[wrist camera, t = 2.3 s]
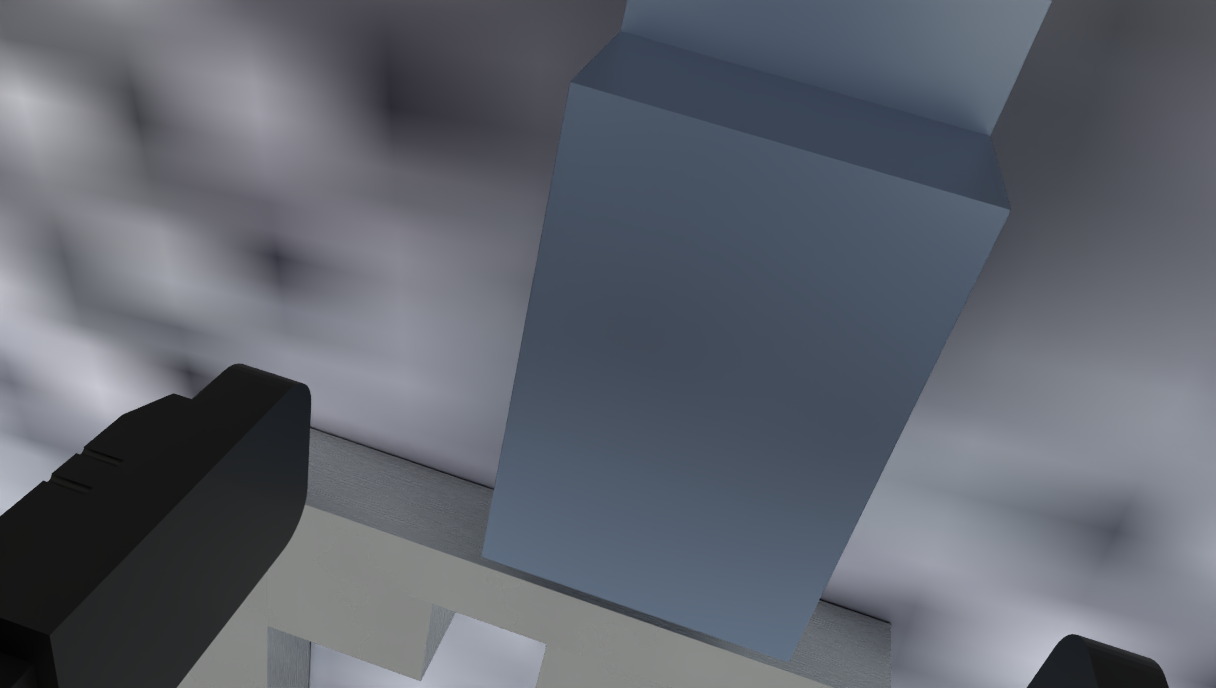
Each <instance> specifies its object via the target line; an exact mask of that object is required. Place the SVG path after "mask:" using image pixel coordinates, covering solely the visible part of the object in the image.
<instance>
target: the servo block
mask: <svg viewBox="0 0 1216 688" xmlns="http://www.w3.org/2000/svg"><path fill="white" fill-rule="evenodd" d="M1051 2H1052V0H627V3H626V8H625V13H624V17H623V22H622V27H621V31H620V32H619V33H618V34H617V35H616V36H615V37H614V38H613V39H612V40H611V41H610V42H609V43H608V44H607V45H606V46H605V47H604V48H603V49H602V50H601V51H600V52H599V53H598V54H597V55H596V56H595V57H594V58H593V59H592V60H591V61H590V62H589V63H588V64H587V65H586V66H585V67H584V68H583V69H582V70H581V71H580V72H579V74H578V75H577V76H576V77H575V78H574V79H573V80H572V81H571V82H570V85H569V90H568V96H567V101H566V106H565V112H564V117H563V122H562V128H561V133H560V139H559V144H558V149H557V155H556V160H555V165H554V171H553V176H552V181H551V187H550V192H549V198H548V203H547V208H546V214H545V219H544V224H543V230H542V235H541V240H540V246H539V251H538V257H537V262H536V267H535V273H534V278H533V283H532V289H531V294H530V299H529V305H528V310H527V316H526V321H525V326H524V332H523V337H522V342H521V348H520V353H519V358H518V364H517V369H516V375H515V380H514V385H513V391H512V396H511V401H510V407H509V412H508V417H507V423H506V428H505V434H504V439H503V444H502V450H501V455H500V460H499V466H498V471H497V476H496V482H495V487H494V493H493V498H492V503H491V509H490V514H489V519H488V525H487V530H486V535H485V541H484V546H483V552H482V557H484V558H486V559H489V560H492V561H495V562H498V563H501V564H504V565H507V566H510V567H513V568H516V569H518V570H521V571H524V572H527V573H530V574H533V575H536V576H539V577H542V578H545V579H548V580H550V581H553V582H556V583H559V584H562V585H565V586H568V587H571V588H574V589H577V590H580V591H582V592H585V593H588V594H591V595H594V596H597V597H600V598H603V599H606V600H609V601H612V602H614V603H617V604H620V605H623V606H626V607H629V608H632V609H635V610H638V611H641V612H643V613H646V614H649V615H652V616H655V617H658V618H661V619H664V620H667V621H670V622H673V623H675V624H678V625H681V626H684V627H687V628H690V629H693V630H696V631H699V632H702V633H705V634H707V635H710V636H713V637H716V638H719V639H722V640H725V641H728V642H731V643H734V644H737V645H739V646H742V647H745V648H748V649H751V650H754V651H757V652H760V653H763V654H766V655H768V656H771V657H774V658H777V659H780V660H783V661H786V662H789V660H790V658H791V656H792V654H793V652H794V650H795V648H796V646H797V644H798V642H799V640H800V638H801V636H802V634H803V632H804V630H805V628H806V626H807V624H808V622H809V620H810V618H811V616H812V614H813V612H814V610H815V608H816V606H817V604H818V601H819V599H820V597H821V595H822V593H823V591H824V589H825V587H826V585H827V583H828V581H829V579H830V577H831V575H832V573H833V571H834V569H835V567H836V565H837V563H838V561H839V559H840V557H841V555H842V553H843V551H844V549H845V547H846V545H847V543H848V540H849V538H850V536H851V534H852V532H853V530H854V528H855V526H856V524H857V522H858V520H859V518H860V516H861V514H862V512H863V510H864V508H865V506H866V504H867V502H868V500H869V498H870V496H871V494H872V492H873V490H874V488H875V486H876V484H877V482H878V479H879V477H880V475H881V473H882V471H883V469H884V467H885V465H886V463H887V461H888V459H889V457H890V455H891V453H892V451H893V449H894V447H895V445H896V443H897V441H898V439H899V437H900V435H901V433H902V431H903V429H904V427H905V425H906V423H907V421H908V418H909V416H910V414H911V412H912V410H913V408H914V406H915V404H916V402H917V400H918V398H919V396H920V394H921V392H922V390H923V388H924V386H925V384H926V382H927V380H928V378H929V376H930V374H931V372H932V370H933V368H934V366H935V364H936V362H937V360H938V357H939V355H940V353H941V351H942V349H943V347H944V345H945V343H946V341H947V339H948V337H949V335H950V333H951V331H952V329H953V327H954V325H955V323H956V321H957V319H958V317H959V315H960V313H961V311H962V309H963V307H964V305H965V303H966V301H967V299H968V296H969V294H970V292H971V290H972V288H973V286H974V284H975V282H976V280H977V278H978V276H979V274H980V272H981V270H982V268H983V266H984V264H985V262H986V260H987V258H988V256H989V254H990V252H991V250H992V248H993V246H994V244H995V242H996V240H997V238H998V235H999V233H1000V231H1001V229H1002V227H1003V225H1004V223H1005V221H1006V219H1007V217H1008V215H1009V213H1010V211H1011V209H1010V205H1009V201H1008V198H1007V194H1006V191H1005V187H1004V184H1003V180H1002V176H1001V173H1000V169H999V166H998V162H997V159H996V155H995V151H994V148H993V144H992V141H991V137H990V136H991V134H992V131H993V129H994V127H995V125H996V123H997V120H998V118H999V116H1000V114H1001V112H1002V109H1003V107H1004V105H1005V103H1006V101H1007V98H1008V96H1009V94H1010V92H1011V90H1012V87H1013V85H1014V83H1015V81H1016V79H1017V76H1018V74H1019V72H1020V70H1021V68H1022V66H1023V63H1024V61H1025V59H1026V57H1027V55H1028V52H1029V50H1030V48H1031V46H1032V44H1033V41H1034V39H1035V37H1036V35H1037V33H1038V30H1039V28H1040V26H1041V24H1042V22H1043V19H1044V17H1045V15H1046V13H1047V11H1048V9H1049V6H1050V4H1051Z"/></svg>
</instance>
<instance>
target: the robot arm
mask: <svg viewBox="0 0 1216 688" xmlns="http://www.w3.org/2000/svg"><path fill="white" fill-rule="evenodd" d="M310 420H311V394H310V390H309V388H308V387H307V385H305V384H303V383H300V382H297V381H294V380H291V379H288V378H285V377H281V376H278V375H275V374H272V373H269V372H266V371H263V370H260V369H257V368H253V367H250V366H247V365H244V364H234V365H232V366H230V367H228V368H227V369H226V370H224V371H223V372H222V373H221V374H220V375H219V376H218V377H217V378H215V379H214V380H213V381H212V382H211V383H210V384H209V385H208V386H207V387H205V388H204V389H203V390H202V391H201V392H200V393H199V394H198V395H196V396H195V397H194V398H193V399H189V398H186V397H183V396H180V395H177V394H174V393H173V394H171V395H168V396H166V397H164V398H161V399H159V400H157V401H154V402H152V403H149V404H147V405H145V406H142V407H140V408H138V409H135V410H133V411H130V412H128V413H126V414H123V415H122V416H120V417H119V418H118V419H117V420H116V421H114V422H113V423H112V424H111V425H110V426H108V427H107V428H106V429H105V430H104V431H102V432H101V433H100V434H99V435H98V436H96V437H95V438H94V439H93V440H92V441H90V442H89V443H88V444H87V445H86V446H84V450H83V452H82V453H81V454H77V453H76V454H75V455H74V456H72V457H71V458H70V459H69V460H68V461H66V462H65V463H64V464H63V465H62V466H60V467H59V468H58V469H57V470H56V471H54V472H53V473H52V476H51V479H50V480H49V481H48V482H46V481H42V482H41V483H40V484H39V485H38V486H36V487H35V488H34V489H33V490H31V491H30V492H29V493H28V494H27V495H25V496H24V497H23V498H22V499H21V500H19V501H18V502H17V503H16V504H15V505H13V506H12V507H11V508H10V509H9V510H7V511H6V512H5V513H4V514H3V515H1V516H0V688H177V687H178V685H179V684H180V683H181V682H182V680H183V679H184V678H185V676H186V675H187V674H188V673H189V671H190V670H191V669H192V667H193V666H194V665H195V664H196V662H197V661H198V660H199V658H200V657H201V656H202V655H203V653H204V652H205V651H206V649H207V648H208V647H209V645H210V644H211V643H212V642H213V640H214V639H215V638H216V636H217V635H218V634H219V633H220V631H221V630H222V629H223V627H224V626H225V625H226V624H227V622H228V621H229V620H230V618H231V617H232V616H233V615H234V613H235V612H236V611H237V609H238V608H239V607H240V606H241V604H242V603H243V602H244V600H245V599H246V598H247V596H248V595H249V594H250V593H251V591H252V590H253V589H254V587H255V586H256V585H257V584H258V582H259V581H260V580H261V578H262V577H263V576H264V575H265V573H266V572H267V571H268V569H269V568H270V567H271V566H272V564H273V563H274V562H275V560H276V559H277V558H278V557H279V555H280V554H281V553H282V551H283V550H284V549H285V547H286V546H287V544H288V543H289V541H290V540H291V538H292V536H293V534H294V532H295V530H296V528H297V526H298V524H299V521H300V519H301V516H302V513H303V510H304V506H305V502H306V497H307V489H308V467H309V443H310ZM1027 688H1169V687H1168V684H1167V681H1166V678H1165V675H1164V673H1163V671H1162V669H1161V667H1160V666H1159V665H1158V664H1157V663H1156V662H1155V661H1154V660H1152V659H1150V658H1147V657H1144V656H1141V655H1138V654H1135V653H1132V652H1129V651H1126V650H1123V649H1119V648H1116V647H1113V646H1110V645H1107V644H1104V643H1101V642H1098V641H1095V640H1091V639H1088V638H1085V637H1082V636H1079V635H1075V634H1071V635H1068V636H1066V637H1064V638H1063V639H1062V640H1061V641H1059V643H1058V644H1057V645H1056V646H1055V648H1054V649H1053V651H1052V652H1051V654H1050V655H1049V656H1048V658H1047V659H1046V661H1045V662H1044V664H1043V665H1042V667H1041V668H1040V669H1039V671H1038V672H1037V674H1036V675H1035V677H1034V678H1033V680H1032V681H1031V682H1030V684H1029V685H1028V687H1027Z"/></svg>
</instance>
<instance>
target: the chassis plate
mask: <svg viewBox="0 0 1216 688" xmlns="http://www.w3.org/2000/svg"><path fill="white" fill-rule="evenodd" d="M200 392H201V391H200ZM200 392H199V393H200ZM199 393H198V394H199ZM198 394H197V395H198ZM493 493H494V490H492V489H489V488H486V487H483V486H480V485H477V484H474V483H471V482H468V481H465V480H462V479H459V478H457V477H454V476H451V475H448V474H445V473H442V472H439V471H436V470H433V469H430V468H427V467H424V466H421V465H418V464H415V463H412V462H409V461H406V460H403V459H400V458H397V457H394V456H391V455H388V454H385V453H382V452H380V451H377V450H374V449H371V448H368V447H365V446H362V445H359V444H356V443H353V442H350V441H347V440H344V439H341V438H338V437H335V436H332V435H329V434H326V433H323V432H320V431H317V430H314V429H311V428H310V443H309V467H308V489H307V497H306V502H305V506H304V510H303V513H302V516H301V519H300V521H299V524H298V526H297V528H296V530H295V532H294V534H293V536H292V538H291V540H290V541H289V543H288V544H287V546H286V547H285V549H284V550H283V551H282V553H281V554H280V555H279V557H278V558H277V559H276V560H275V562H274V563H273V564H272V566H271V567H270V568H269V569H268V571H267V572H266V573H265V575H264V576H263V577H262V578H261V580H260V581H259V582H258V584H257V585H256V586H255V587H254V589H253V590H252V591H251V593H250V594H249V595H248V596H247V598H246V599H245V600H244V602H243V603H242V604H241V606H240V607H239V608H238V609H237V611H236V612H235V613H234V615H233V616H232V617H231V618H230V620H229V621H228V622H227V624H226V625H225V626H224V627H223V629H222V630H221V631H220V633H219V634H218V635H217V636H216V638H215V639H214V640H213V642H212V643H211V644H210V645H209V647H208V648H207V649H206V651H205V652H204V653H203V655H202V656H201V657H200V658H199V660H198V661H197V662H196V664H195V665H194V666H193V667H192V669H191V670H190V671H189V673H188V674H187V675H186V676H185V678H184V679H183V680H182V682H181V683H180V684H179V685H178V687H177V688H308V685H309V662H310V641H311V642H313V643H316V644H319V645H322V646H324V647H327V648H330V649H333V650H336V651H338V652H341V653H344V654H347V655H349V656H352V657H355V658H358V659H360V660H363V661H366V662H369V663H372V664H374V665H377V666H380V667H383V668H385V669H388V670H391V671H394V672H397V673H399V674H402V675H405V676H408V677H410V678H413V679H416V680H419V681H421V680H422V678H423V676H424V674H425V672H426V670H427V668H428V666H429V664H430V662H431V660H432V658H433V656H434V654H435V652H436V650H437V648H438V646H439V644H440V642H441V640H442V638H443V637H444V635H445V633H446V631H447V629H448V627H449V625H450V623H451V621H452V619H453V617H454V615H455V613H456V612H457V613H460V614H463V615H466V616H469V617H472V618H475V619H477V620H480V621H483V622H486V623H489V624H492V625H494V626H497V627H500V628H503V629H506V630H509V631H511V632H514V633H517V634H520V635H523V636H526V637H528V638H531V639H534V640H537V641H540V642H543V643H546V644H547V646H546V650H545V654H544V657H543V661H542V665H541V669H540V673H539V677H538V680H537V684H536V688H891V624H889V623H886V622H883V621H880V620H877V619H874V618H871V617H868V616H865V615H862V614H859V613H856V612H853V611H850V610H847V609H845V608H842V607H839V606H836V605H833V604H830V603H827V602H824V601H821V600H819V601H818V604H817V606H816V608H815V610H814V612H813V614H812V616H811V618H810V620H809V622H808V624H807V626H806V628H805V630H804V632H803V634H802V636H801V638H800V640H799V642H798V644H797V646H796V648H795V650H794V652H793V654H792V656H791V658H790V660H789V662H786V661H783V660H780V659H777V658H774V657H771V656H768V655H766V654H763V653H760V652H757V651H754V650H751V649H748V648H745V647H742V646H739V645H737V644H734V643H731V642H728V641H725V640H722V639H719V638H716V637H713V636H710V635H707V634H705V633H702V632H699V631H696V630H693V629H690V628H687V627H684V626H681V625H678V624H675V623H673V622H670V621H667V620H664V619H661V618H658V617H655V616H652V615H649V614H646V613H643V612H641V611H638V610H635V609H632V608H629V607H626V606H623V605H620V604H617V603H614V602H612V601H609V600H606V599H603V598H600V597H597V596H594V595H591V594H588V593H585V592H582V591H580V590H577V589H574V588H571V587H568V586H565V585H562V584H559V583H556V582H553V581H550V580H548V579H545V578H542V577H539V576H536V575H533V574H530V573H527V572H524V571H521V570H518V569H516V568H513V567H510V566H507V565H504V564H501V563H498V562H495V561H492V560H489V559H486V558H484V557H482V552H483V546H484V541H485V535H486V530H487V525H488V519H489V514H490V509H491V503H492V498H493Z"/></svg>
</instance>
